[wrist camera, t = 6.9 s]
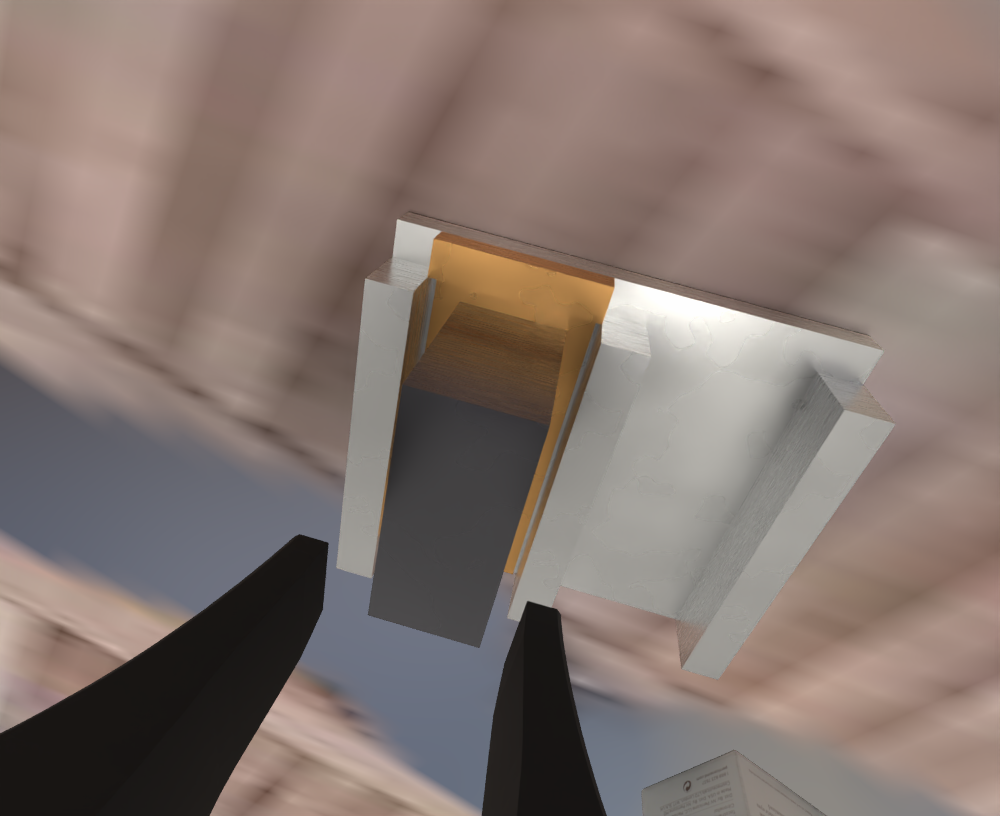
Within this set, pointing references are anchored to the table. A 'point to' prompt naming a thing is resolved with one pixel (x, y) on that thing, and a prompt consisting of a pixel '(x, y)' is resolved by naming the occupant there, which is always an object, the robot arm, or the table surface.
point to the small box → (724, 792)
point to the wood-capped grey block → (463, 469)
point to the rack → (632, 430)
